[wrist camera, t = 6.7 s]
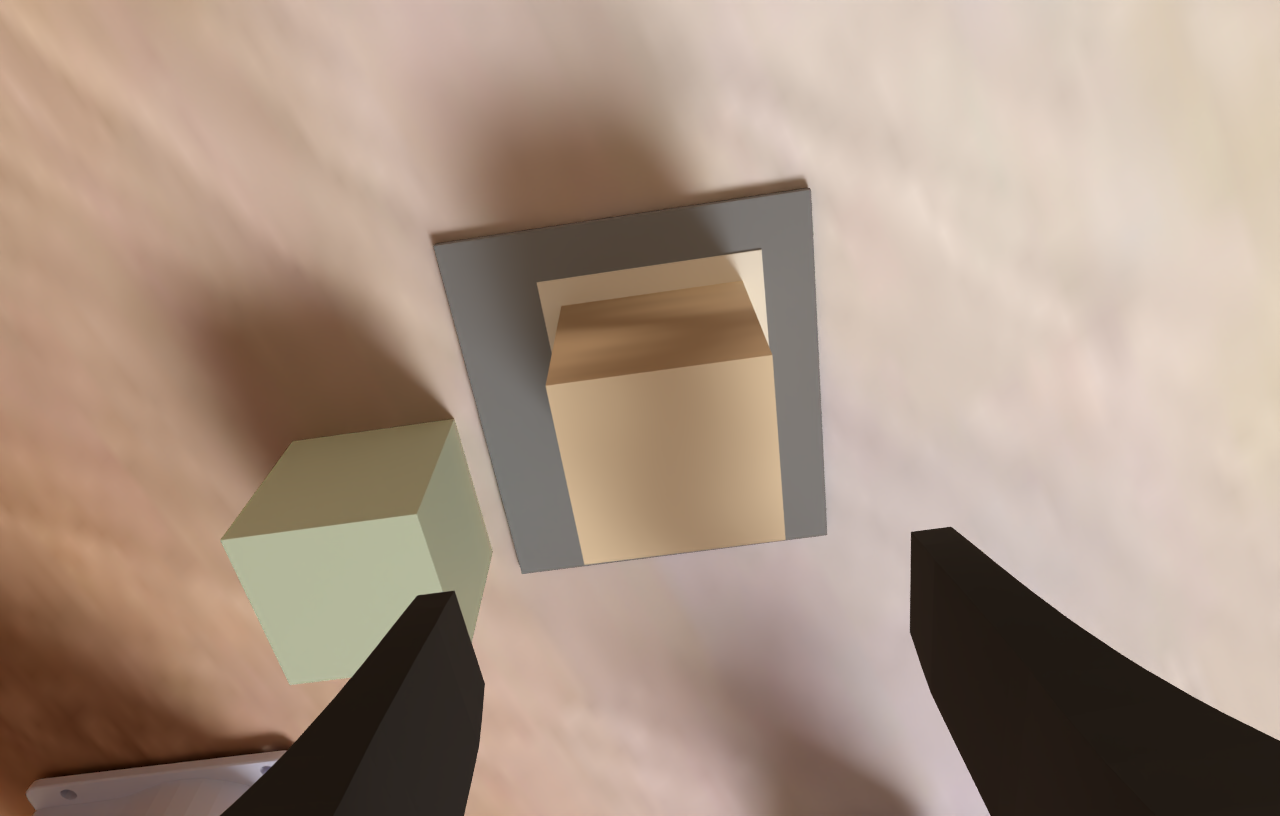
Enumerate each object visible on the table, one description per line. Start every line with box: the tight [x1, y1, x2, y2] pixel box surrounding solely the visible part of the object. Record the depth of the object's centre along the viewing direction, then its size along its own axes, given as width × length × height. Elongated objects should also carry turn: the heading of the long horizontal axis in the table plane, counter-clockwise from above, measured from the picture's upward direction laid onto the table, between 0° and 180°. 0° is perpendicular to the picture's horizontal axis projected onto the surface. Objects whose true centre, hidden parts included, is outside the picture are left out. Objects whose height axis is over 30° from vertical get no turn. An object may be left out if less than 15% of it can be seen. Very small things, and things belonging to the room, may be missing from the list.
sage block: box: [220, 419, 493, 685], centre depth 21 cm, size 4×4×4 cm
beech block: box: [546, 281, 786, 565], centre depth 19 cm, size 4×4×4 cm
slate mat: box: [433, 188, 827, 574], centre depth 21 cm, size 9×10×1 cm
